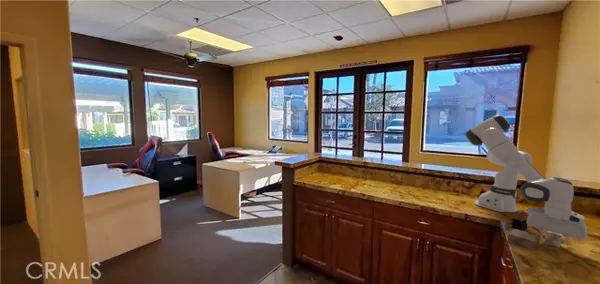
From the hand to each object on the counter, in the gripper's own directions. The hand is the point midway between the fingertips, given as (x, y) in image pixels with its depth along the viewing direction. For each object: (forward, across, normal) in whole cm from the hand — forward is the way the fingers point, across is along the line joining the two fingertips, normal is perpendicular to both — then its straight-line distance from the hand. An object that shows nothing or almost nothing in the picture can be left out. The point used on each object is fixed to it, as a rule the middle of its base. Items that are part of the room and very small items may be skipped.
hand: (553, 240), depth 123 cm
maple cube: (+2, 0, 0) cm, 2 cm away
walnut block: (+2, -9, -10) cm, 14 cm away
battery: (+2, -14, +9) cm, 17 cm away
